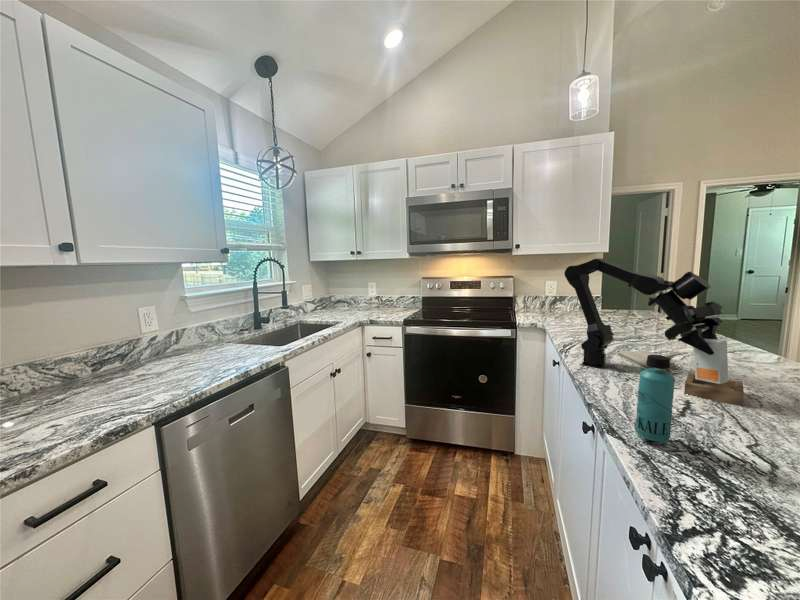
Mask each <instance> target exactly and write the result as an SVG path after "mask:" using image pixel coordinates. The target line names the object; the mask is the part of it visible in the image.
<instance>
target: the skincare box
mask: <svg viewBox="0 0 800 600" xmlns="http://www.w3.org/2000/svg"><path fill="white" fill-rule="evenodd" d="M704 339H705V338H704ZM705 341H706V342H707V343H708V345H709V346H710V347H711V349H712V350H713V352H714V354H712V355H709V354H707V353H705V352H703V351H701V350H699V349H697V348H695V347H693V357H694V358H693V359H694V373H695V379H696V380H702V381H707V382H712V383H717V384H723V383H726V382H728V379H729V363H728V340H726V339H719V338H718V339H705Z"/></svg>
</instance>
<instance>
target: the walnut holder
mask: <svg viewBox="0 0 800 600" xmlns="http://www.w3.org/2000/svg"><path fill="white" fill-rule="evenodd" d="M743 382H744V381H743V380H737V379H733V378H728V382H726V383H723V384H717V383H712V382H707V381H702V380H696V379H695V372H691V371H688V373H687V375H686V379H685V382H684V390H683V392H684V393H683V395H685V394H688V395H687V396H689V395H693V396H692V397H694V396H697V397H696V398H699V397H701V398H700V399H704V398H706V399H705V400H708V399H710V401H713V400H714V401H715V402H719V403H723V404H728V405H733V406H738V407H743V406H744V398H745V393H744V384H743Z"/></svg>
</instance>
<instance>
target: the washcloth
mask: <svg viewBox="0 0 800 600" xmlns="http://www.w3.org/2000/svg"><path fill="white" fill-rule="evenodd" d="M648 355H659V354H658V353H656V352H653V351H650V350H633V351H621V350H620V351H618V352H617V353H616V356H617V357H619V356H620V357H619V358H622V359H623V358H624V360H625V359H626V360H625V361H627V362H630V363H632V364H634V365H636V366H637V367H639V368H642V369H643V370H645V369H647V368H654V367H651V366H648V365H647V364H646V361H647V357H648ZM656 369H661V368H656ZM669 369H674V370H678V369H679V368H678V365H677V364H676V362H674V361H672V360H670V368H668V369H662V370H665V371H668V370H669Z"/></svg>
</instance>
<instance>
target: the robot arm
mask: <svg viewBox="0 0 800 600" xmlns="http://www.w3.org/2000/svg"><path fill="white" fill-rule="evenodd" d="M597 271H598V272H600V273H603V274H605V275H607V276H609V277H612V278H614V279H615V278H616V279H617V280H620V281H623V282H625V283H627V284H629V285H630V286H631V287H632V288H633V289H634V290H636V291H638V292H640V293H641V294H643V295H646V296H651V295H656V294H657V295H656V296H655V297H649V298H648V299H649V300H648V302H647V306H649V307H654V306H658V307H659V308H660V310H661V311H663V312H664V314H665V315H666V317H665V319H666V320H667V321H672V323H673V324H674V325H672V326H671V327H669V328H667V329H666V330H664V337H665V338H666V339H667V340H668V341H673V340H676V339H677V336H679V335H680V338H678V339H677V341H678V342H681V343H684V344H687V345H689V346H691V347H693V348H694V347H695V348H697V349H699V350H701V351H703V352H705V353H707V354H709V355H712V354H714V352H713V350H712V349H711V347H710V346H709V345H708V343H707V342H706V341H705V339H718V340H719V338H718V336H717V334H716V331H717V329H718V327H719V326H721V325H722V324H724V321H723V320H722V318H720V317H718V315H722V314H723V313H722V311H721V310H722V309H723V306H722V305H720V303H718V302H716V301H709V302H705V303H704V305H703V306H702V305H701V306H697V307H695V305H687V303H685V302H684V300H686V299H687V300H693V299H694V298H696V297H697V296H699V295H701V294H703V293H705V292H706V291H707V290H708V289H711V285H710V284H709V283H708V281H707V280H705V279H704V278H702V277H701V276H699V275H697V274H695V273H693V272H692V271H687V272H686V273H684V275H682V276H681V277H680V278H679V279H677V280H675V281H670V280H665V279H664V278H663V277H661V276H658V275H655V274H654V275H653V274H650V273H649V274H648V273H643V272H642V273H641V272H636V271H633V270H631V269H628V268H626V267H623V266H622V265H618V264H616V263H613V262H611V261H608V260H605V259H604V258H593V259H591V260H589V261H587V262H584V263H580V264H577V265H570V266H567V267H566V268H565V270H564V277H565V279H566V280H567V283H569V285H570V286H571V287H572V288H573V289H574V291H575V293H576V296H577V299H578V302H579V304H580V308H581V310H582V312H583V315H584V318H585V321H586V325H587V327H586V328H587V329H586V335H587V337H586V338H587V339H586V340H585V341H583V342H582V343H580V346H581V350H583V360H582V363H581V365H582V366H588V367H593V368H597V369H602V368H603V367H604V366H605V365H606V364H607V363H606V362H607V353H606V350H605V349H607V347H608V345H611V343H612V342H613V341H614V336H615V334H614V333H613V331H612V327H611V324H605V323H604V322H603V321H602V319H601V316H600V314H599V310H598V307H597V304H596V302H595V300H594V297H593V294H592V291H591V289H590V286H589V283H590V274H593V273H595V272H597ZM668 290H669V291H668ZM663 291H667V292H663ZM716 315H717V316H716ZM704 338H705V339H704Z"/></svg>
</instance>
